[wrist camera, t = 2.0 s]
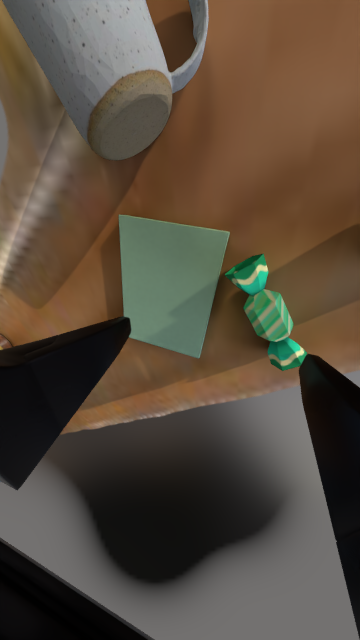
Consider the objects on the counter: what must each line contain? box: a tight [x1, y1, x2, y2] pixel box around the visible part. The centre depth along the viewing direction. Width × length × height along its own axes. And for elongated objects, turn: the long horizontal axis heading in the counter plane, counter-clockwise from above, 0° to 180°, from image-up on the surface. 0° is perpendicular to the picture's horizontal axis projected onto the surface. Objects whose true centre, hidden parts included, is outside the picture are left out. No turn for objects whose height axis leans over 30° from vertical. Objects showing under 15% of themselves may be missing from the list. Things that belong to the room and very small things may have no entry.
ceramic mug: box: [2, 0, 209, 161], centre depth 11 cm, size 11×8×8 cm
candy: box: [225, 254, 307, 371], centre depth 19 cm, size 12×3×4 cm
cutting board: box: [119, 215, 230, 358], centre depth 23 cm, size 12×16×1 cm
